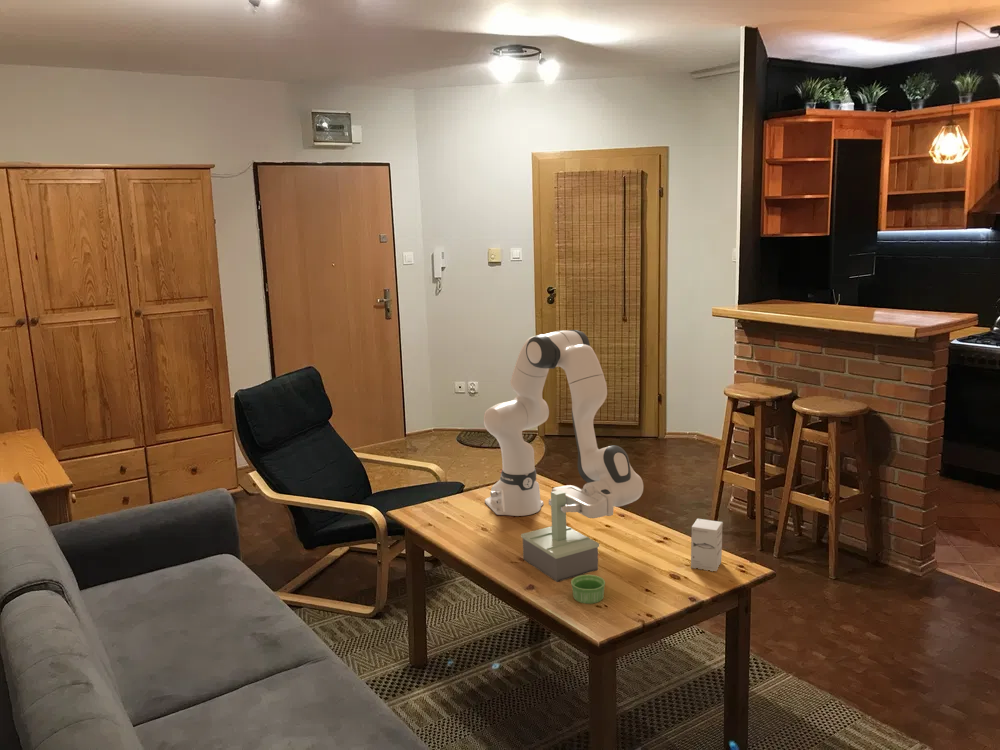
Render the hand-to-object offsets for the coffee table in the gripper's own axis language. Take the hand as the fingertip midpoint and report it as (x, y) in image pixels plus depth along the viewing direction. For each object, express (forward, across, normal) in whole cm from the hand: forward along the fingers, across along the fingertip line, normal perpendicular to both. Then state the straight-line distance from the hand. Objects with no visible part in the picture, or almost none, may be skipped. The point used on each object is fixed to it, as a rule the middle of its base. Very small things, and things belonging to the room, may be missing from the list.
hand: (555, 506), depth 227 cm
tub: (-1, 0, +18) cm, 18 cm away
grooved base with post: (-1, 0, +11) cm, 11 cm away
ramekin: (+4, +21, +18) cm, 28 cm away
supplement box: (-35, +24, +18) cm, 46 cm away
